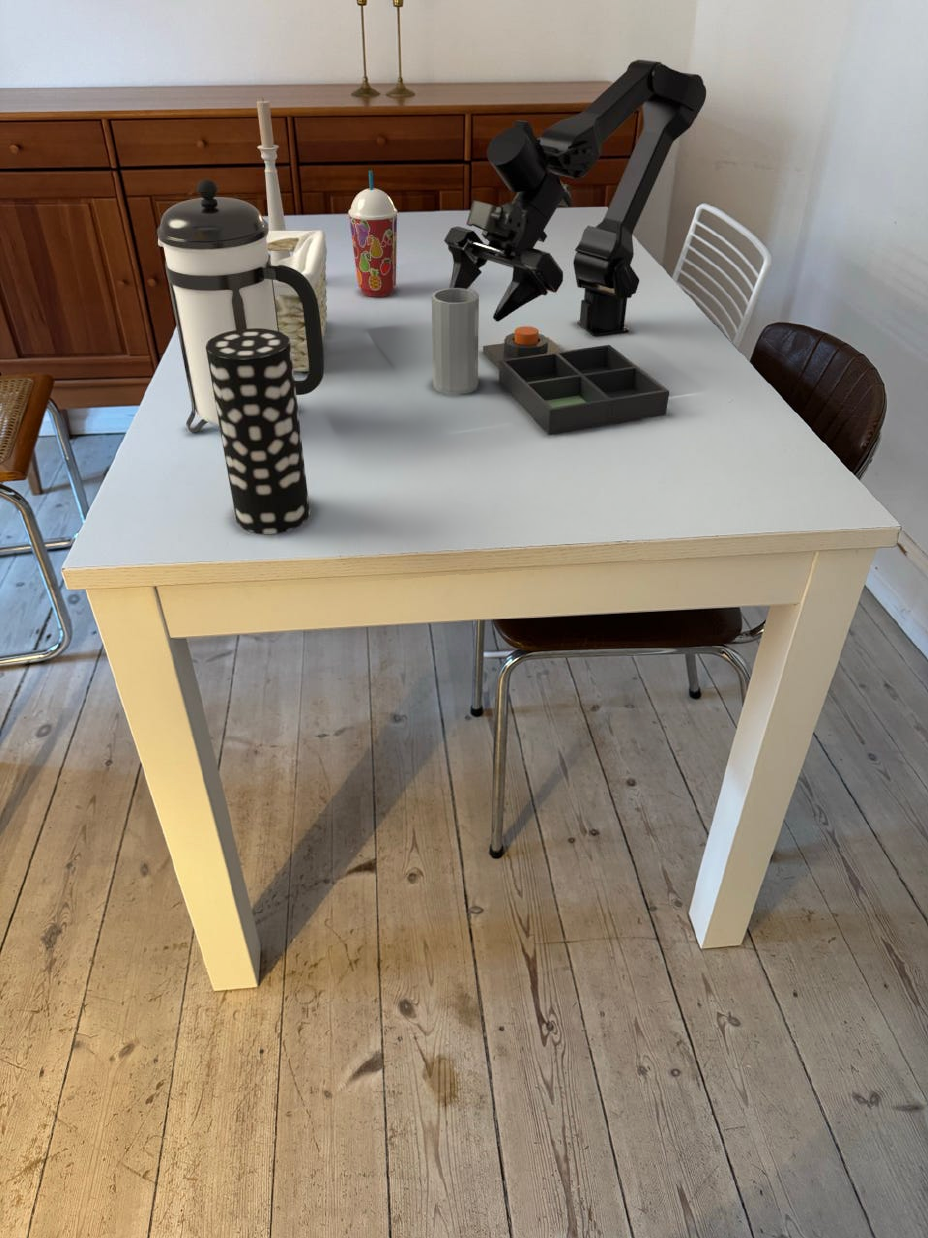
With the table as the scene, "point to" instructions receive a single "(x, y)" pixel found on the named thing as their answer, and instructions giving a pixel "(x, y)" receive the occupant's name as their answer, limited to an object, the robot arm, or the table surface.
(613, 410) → the divided tray
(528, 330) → the button
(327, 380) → the table surface
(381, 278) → the smoothie
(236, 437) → the spotted tube
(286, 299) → the basket
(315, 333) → the coffee press
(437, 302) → the tumbler
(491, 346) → the block
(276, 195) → the candlestick
